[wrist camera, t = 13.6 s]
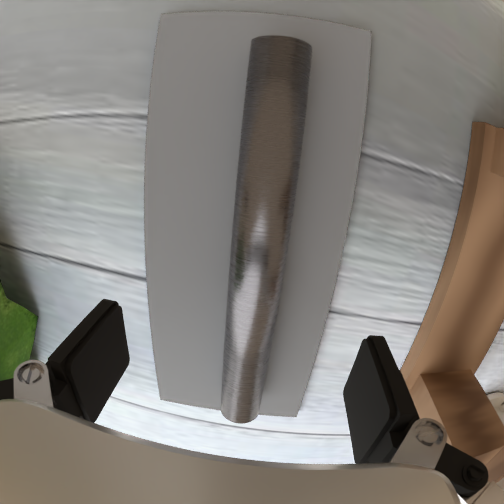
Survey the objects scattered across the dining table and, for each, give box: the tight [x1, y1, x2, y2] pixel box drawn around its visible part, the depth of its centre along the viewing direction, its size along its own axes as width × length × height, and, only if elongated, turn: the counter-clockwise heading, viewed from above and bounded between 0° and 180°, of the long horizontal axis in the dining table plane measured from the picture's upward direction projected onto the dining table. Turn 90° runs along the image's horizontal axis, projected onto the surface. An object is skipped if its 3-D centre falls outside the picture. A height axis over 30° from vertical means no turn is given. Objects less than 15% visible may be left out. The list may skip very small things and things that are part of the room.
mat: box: [144, 11, 371, 417], centre depth 18 cm, size 12×29×1 cm, turn 174°
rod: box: [221, 35, 312, 423], centre depth 17 cm, size 24×3×3 cm
